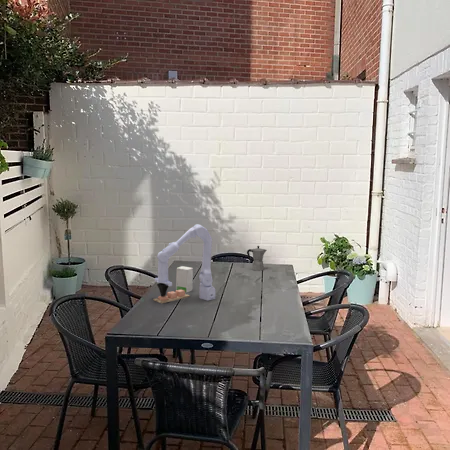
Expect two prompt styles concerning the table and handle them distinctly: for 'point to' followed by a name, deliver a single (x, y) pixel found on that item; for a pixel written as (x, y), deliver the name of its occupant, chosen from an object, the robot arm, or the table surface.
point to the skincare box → (184, 278)
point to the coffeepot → (257, 258)
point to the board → (171, 299)
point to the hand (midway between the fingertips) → (163, 296)
